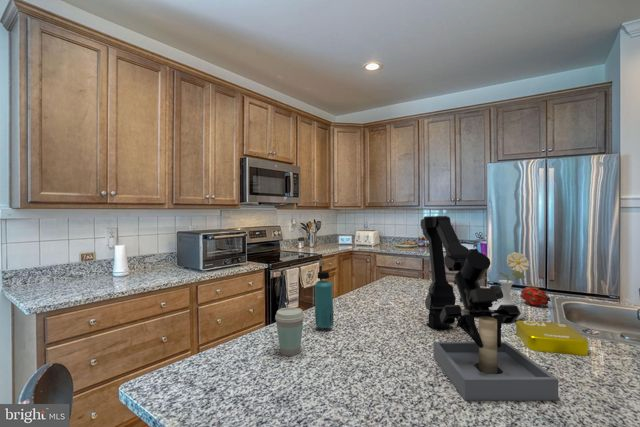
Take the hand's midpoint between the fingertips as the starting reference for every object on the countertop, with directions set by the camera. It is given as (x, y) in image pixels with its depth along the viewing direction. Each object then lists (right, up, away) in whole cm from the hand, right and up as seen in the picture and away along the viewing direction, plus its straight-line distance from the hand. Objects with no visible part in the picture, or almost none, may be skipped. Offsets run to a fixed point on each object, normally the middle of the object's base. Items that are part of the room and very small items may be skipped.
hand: (490, 347), depth 78 cm
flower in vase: (+30, -7, +43) cm, 53 cm away
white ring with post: (-10, -8, +64) cm, 66 cm away
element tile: (+29, -8, +21) cm, 36 cm away
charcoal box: (0, -8, +1) cm, 8 cm away
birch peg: (0, -7, +1) cm, 7 cm away
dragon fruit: (+50, -7, +59) cm, 78 cm away
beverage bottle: (-40, -8, +35) cm, 53 cm away
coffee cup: (-50, -8, +17) cm, 54 cm away
